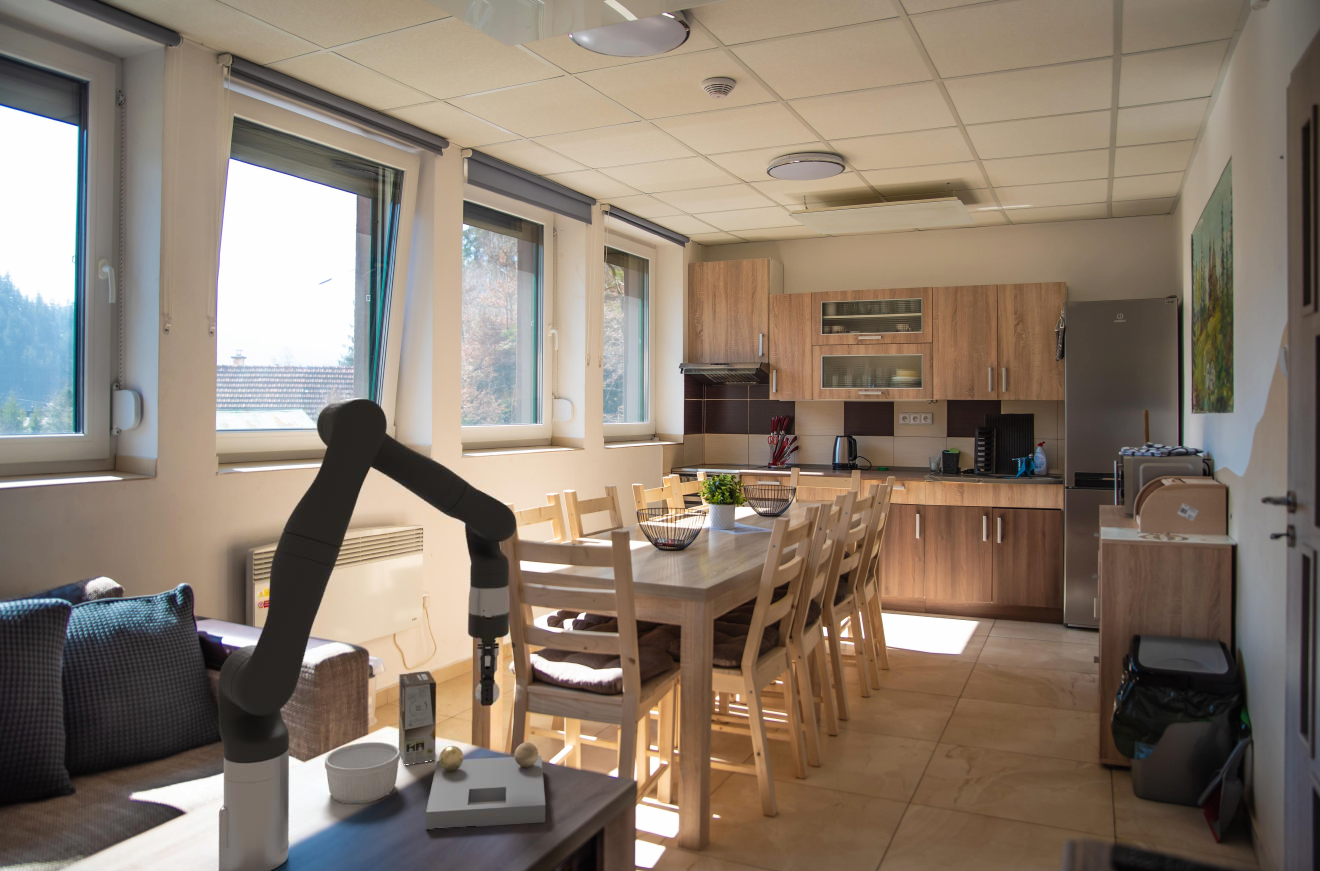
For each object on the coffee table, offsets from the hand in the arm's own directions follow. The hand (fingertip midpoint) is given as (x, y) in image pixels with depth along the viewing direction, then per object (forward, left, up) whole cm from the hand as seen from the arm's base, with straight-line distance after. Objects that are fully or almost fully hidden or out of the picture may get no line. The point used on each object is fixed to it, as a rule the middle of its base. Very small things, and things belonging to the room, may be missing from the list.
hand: (487, 700), depth 162 cm
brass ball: (-7, +3, -12) cm, 14 cm away
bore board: (0, -3, -17) cm, 17 cm away
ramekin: (-23, +3, -17) cm, 29 cm away
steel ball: (0, 0, +1) cm, 1 cm away
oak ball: (+7, +3, -12) cm, 14 cm away
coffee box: (-15, +19, -17) cm, 29 cm away
